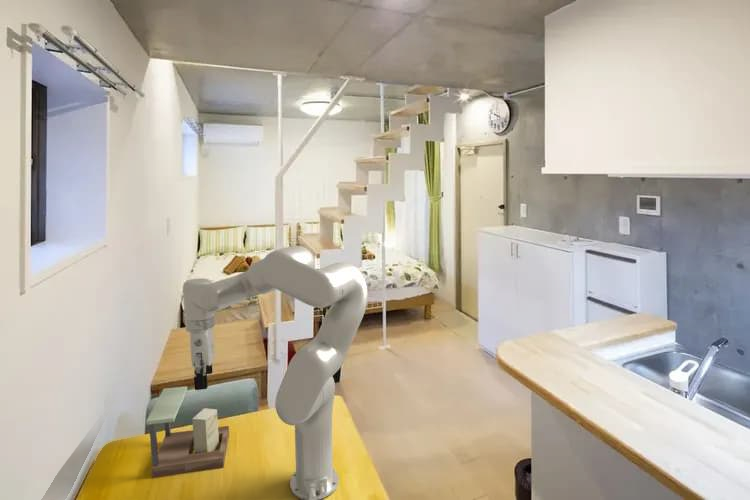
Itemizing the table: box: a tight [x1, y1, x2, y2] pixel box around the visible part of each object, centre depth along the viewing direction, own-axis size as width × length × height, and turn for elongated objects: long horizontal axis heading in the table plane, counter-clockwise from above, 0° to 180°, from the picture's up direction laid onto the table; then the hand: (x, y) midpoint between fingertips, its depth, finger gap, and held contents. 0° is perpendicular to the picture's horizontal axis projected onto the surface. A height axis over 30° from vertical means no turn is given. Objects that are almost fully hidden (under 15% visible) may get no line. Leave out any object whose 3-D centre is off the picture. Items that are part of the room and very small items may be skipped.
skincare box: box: [192, 407, 220, 454], centre depth 121 cm, size 6×4×12 cm
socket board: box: [145, 386, 230, 479], centre depth 119 cm, size 18×18×17 cm
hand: (204, 381), depth 118 cm, fingers open, 9 cm apart
